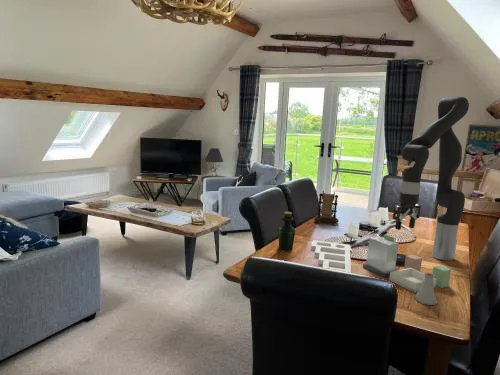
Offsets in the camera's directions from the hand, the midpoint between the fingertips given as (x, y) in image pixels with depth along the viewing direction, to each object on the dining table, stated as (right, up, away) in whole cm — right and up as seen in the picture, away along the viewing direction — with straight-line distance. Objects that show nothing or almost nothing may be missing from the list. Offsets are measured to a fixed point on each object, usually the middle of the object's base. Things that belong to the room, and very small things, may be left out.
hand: (404, 228), depth 162 cm
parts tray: (-3, -20, -15) cm, 25 cm away
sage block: (+8, -21, -14) cm, 26 cm away
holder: (-32, -16, +4) cm, 36 cm away
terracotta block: (+2, -18, -3) cm, 19 cm away
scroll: (-20, -4, +71) cm, 73 cm away
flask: (-4, -23, -29) cm, 37 cm away
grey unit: (-11, -18, -3) cm, 21 cm away
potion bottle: (-50, -12, +18) cm, 54 cm away
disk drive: (-1, -17, +10) cm, 20 cm away
